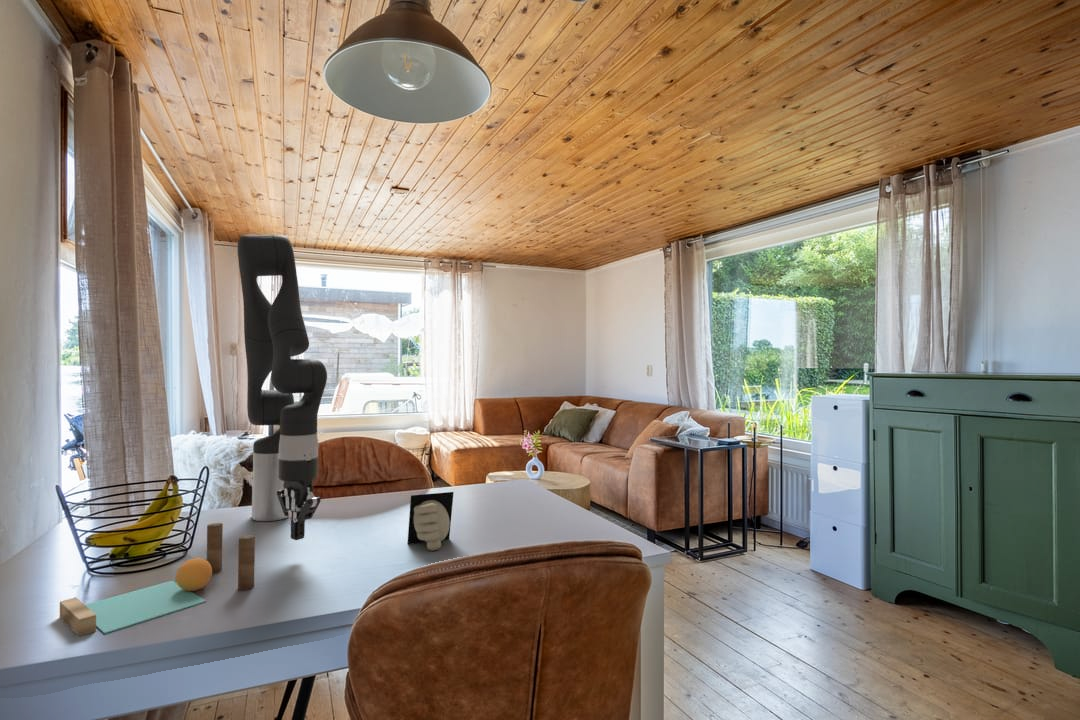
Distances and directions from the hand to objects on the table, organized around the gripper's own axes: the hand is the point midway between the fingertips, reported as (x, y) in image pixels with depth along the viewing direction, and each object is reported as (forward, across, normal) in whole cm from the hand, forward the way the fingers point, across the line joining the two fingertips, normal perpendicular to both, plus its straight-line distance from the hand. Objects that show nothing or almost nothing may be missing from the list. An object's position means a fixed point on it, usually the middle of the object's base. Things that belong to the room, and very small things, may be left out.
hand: (297, 538), depth 114 cm
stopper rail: (+4, 0, -36) cm, 36 cm away
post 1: (+4, -6, -14) cm, 15 cm away
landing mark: (+4, 0, -28) cm, 28 cm away
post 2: (+4, +6, -14) cm, 16 cm away
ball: (+1, 0, -20) cm, 20 cm away
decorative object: (+4, +16, +22) cm, 28 cm away
